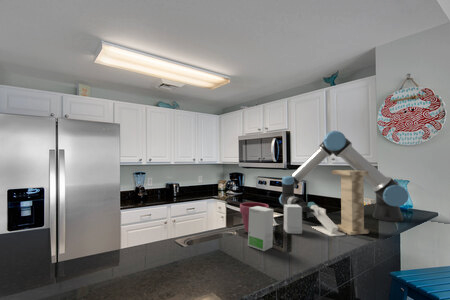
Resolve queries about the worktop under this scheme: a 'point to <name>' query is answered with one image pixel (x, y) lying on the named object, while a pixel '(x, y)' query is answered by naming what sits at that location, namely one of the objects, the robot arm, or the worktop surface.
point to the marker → (324, 219)
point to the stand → (352, 201)
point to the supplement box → (293, 219)
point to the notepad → (325, 231)
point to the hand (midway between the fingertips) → (321, 212)
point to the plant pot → (245, 211)
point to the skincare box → (260, 228)
